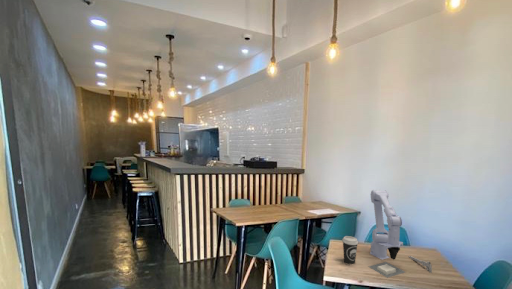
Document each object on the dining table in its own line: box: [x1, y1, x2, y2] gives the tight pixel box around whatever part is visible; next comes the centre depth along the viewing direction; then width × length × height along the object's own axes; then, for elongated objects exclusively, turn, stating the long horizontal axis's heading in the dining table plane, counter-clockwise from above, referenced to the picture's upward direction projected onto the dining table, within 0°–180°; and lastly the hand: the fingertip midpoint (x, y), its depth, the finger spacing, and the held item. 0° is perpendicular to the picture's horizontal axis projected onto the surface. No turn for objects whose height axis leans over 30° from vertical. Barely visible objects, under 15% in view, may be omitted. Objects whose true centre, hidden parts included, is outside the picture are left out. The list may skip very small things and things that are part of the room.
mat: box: [367, 261, 406, 279], centre depth 145 cm, size 13×16×1 cm
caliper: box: [408, 255, 433, 274], centre depth 153 cm, size 20×1×6 cm, turn 0°
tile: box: [377, 264, 396, 275], centre depth 143 cm, size 6×2×8 cm
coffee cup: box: [341, 235, 359, 265], centre depth 153 cm, size 10×10×15 cm
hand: (392, 258), depth 145 cm, fingers closed
